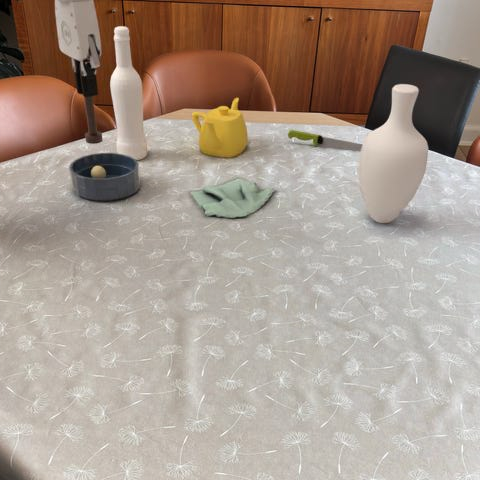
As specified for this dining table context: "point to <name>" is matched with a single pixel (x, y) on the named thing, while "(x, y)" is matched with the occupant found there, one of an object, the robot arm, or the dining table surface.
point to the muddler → (91, 121)
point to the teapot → (222, 131)
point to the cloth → (232, 199)
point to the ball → (98, 172)
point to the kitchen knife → (324, 141)
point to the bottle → (127, 100)
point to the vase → (393, 159)
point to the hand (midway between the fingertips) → (87, 93)
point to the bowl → (113, 185)
